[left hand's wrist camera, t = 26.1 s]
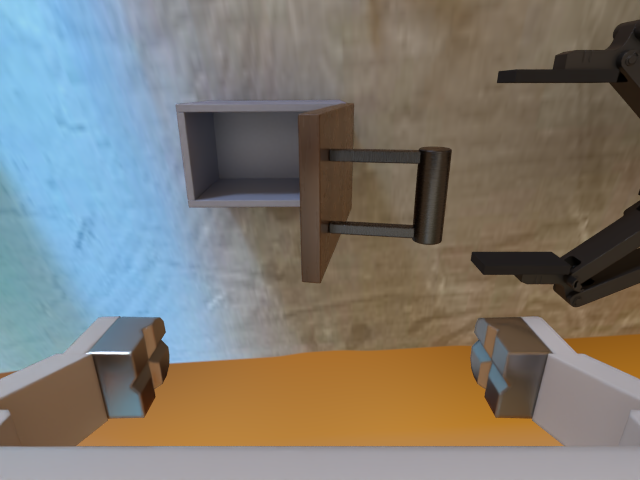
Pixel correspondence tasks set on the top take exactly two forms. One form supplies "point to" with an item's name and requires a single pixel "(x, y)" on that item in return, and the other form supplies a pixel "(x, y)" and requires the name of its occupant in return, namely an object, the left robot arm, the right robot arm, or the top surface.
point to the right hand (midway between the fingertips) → (489, 177)
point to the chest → (242, 151)
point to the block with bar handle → (336, 187)
